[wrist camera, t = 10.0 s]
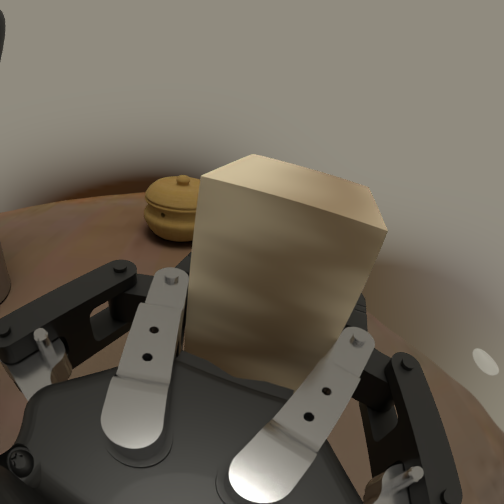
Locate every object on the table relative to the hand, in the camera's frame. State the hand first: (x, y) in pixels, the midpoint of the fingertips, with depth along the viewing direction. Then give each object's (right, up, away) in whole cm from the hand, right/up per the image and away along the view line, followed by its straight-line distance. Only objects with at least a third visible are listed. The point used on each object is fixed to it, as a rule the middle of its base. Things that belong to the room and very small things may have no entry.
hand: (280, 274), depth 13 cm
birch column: (-2, -7, +2) cm, 7 cm away
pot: (-14, +4, +34) cm, 37 cm away
